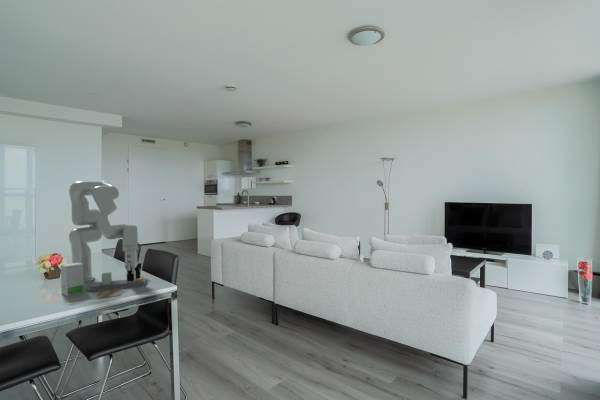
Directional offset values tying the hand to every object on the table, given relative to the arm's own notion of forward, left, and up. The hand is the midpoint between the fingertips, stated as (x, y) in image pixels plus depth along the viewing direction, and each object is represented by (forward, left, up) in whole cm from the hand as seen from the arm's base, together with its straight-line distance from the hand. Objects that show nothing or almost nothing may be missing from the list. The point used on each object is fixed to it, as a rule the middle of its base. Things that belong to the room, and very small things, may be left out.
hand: (131, 279), depth 178 cm
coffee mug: (0, +16, -4) cm, 16 cm away
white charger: (0, 0, -3) cm, 3 cm away
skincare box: (-27, -3, -4) cm, 27 cm away
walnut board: (-8, -12, -4) cm, 15 cm away
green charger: (-12, 0, -3) cm, 12 cm away
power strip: (-6, 0, -4) cm, 7 cm away
